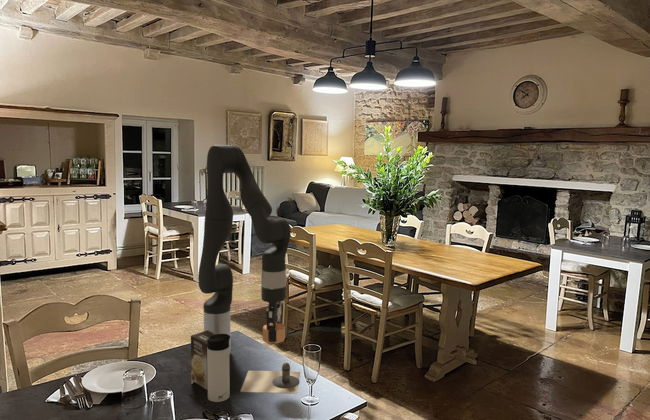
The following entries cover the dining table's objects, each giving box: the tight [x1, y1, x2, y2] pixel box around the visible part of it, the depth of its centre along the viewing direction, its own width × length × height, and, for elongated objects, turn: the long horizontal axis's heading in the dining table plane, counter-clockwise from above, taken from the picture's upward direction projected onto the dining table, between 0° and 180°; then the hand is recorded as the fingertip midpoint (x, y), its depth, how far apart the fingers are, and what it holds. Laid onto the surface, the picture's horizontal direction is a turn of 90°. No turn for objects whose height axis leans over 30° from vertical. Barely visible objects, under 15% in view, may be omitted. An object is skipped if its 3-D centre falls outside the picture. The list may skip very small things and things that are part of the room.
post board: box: [239, 362, 301, 395], centre depth 149 cm, size 17×14×8 cm
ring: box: [262, 322, 286, 344], centre depth 147 cm, size 6×6×4 cm
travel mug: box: [207, 334, 231, 403], centre depth 138 cm, size 6×7×20 cm
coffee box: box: [190, 330, 216, 391], centre depth 148 cm, size 9×6×16 cm
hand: (274, 337), depth 147 cm, fingers closed on ring, 6 cm apart
